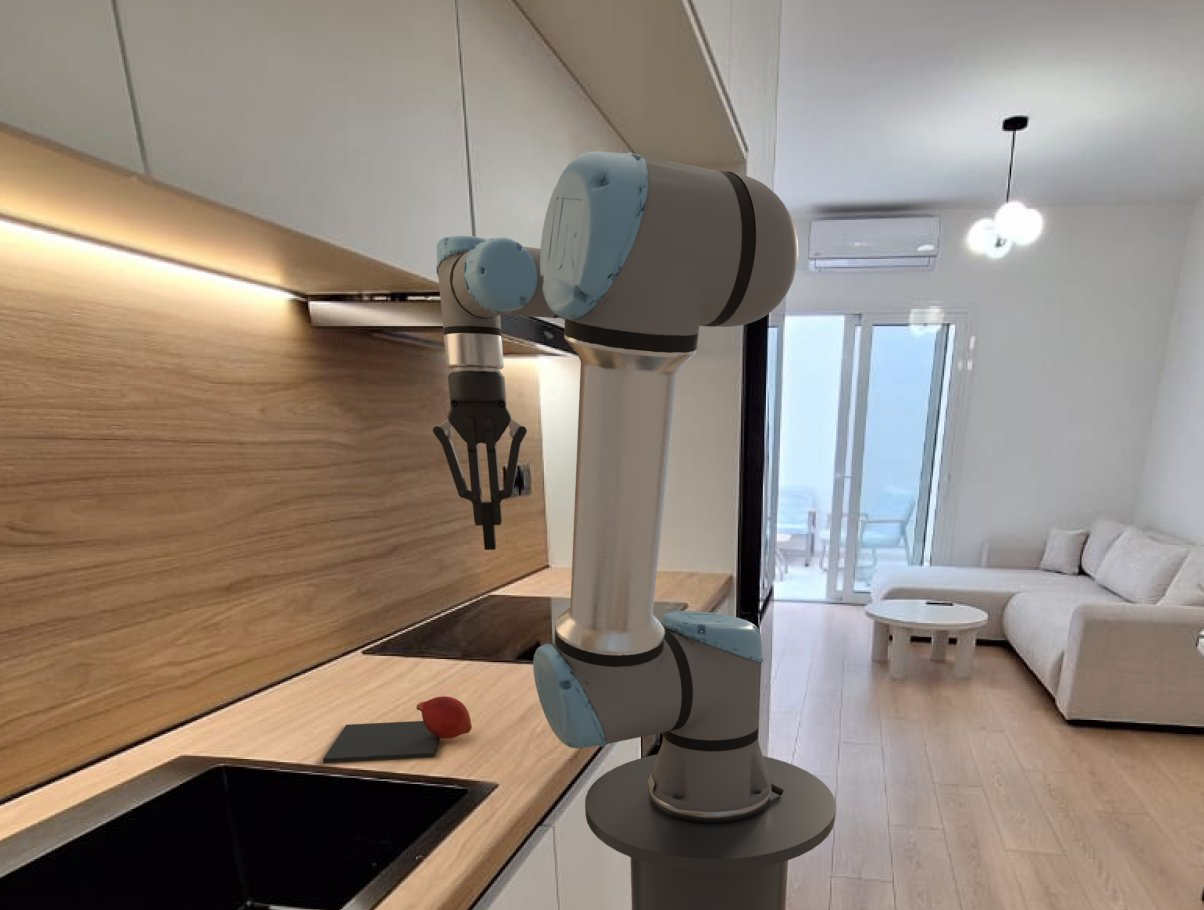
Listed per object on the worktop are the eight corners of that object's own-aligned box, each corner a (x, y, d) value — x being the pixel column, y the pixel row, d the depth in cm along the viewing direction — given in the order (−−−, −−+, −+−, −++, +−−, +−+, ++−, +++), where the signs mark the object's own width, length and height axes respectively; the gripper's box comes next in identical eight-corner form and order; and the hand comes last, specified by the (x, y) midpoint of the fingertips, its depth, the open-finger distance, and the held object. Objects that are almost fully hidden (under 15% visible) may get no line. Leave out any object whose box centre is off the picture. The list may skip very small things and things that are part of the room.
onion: (469, 729, 117) (417, 703, 115) (484, 703, 114) (431, 677, 112) (457, 755, 113) (403, 729, 110) (473, 729, 109) (417, 702, 107)
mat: (445, 723, 119) (445, 719, 119) (434, 756, 107) (433, 752, 107) (346, 728, 117) (346, 724, 117) (323, 762, 105) (322, 758, 105)
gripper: (525, 373, 114) (536, 544, 122) (430, 372, 112) (447, 545, 120) (523, 370, 107) (535, 551, 115) (422, 369, 105) (441, 553, 113)
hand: (490, 548), depth 118 cm, fingers closed
